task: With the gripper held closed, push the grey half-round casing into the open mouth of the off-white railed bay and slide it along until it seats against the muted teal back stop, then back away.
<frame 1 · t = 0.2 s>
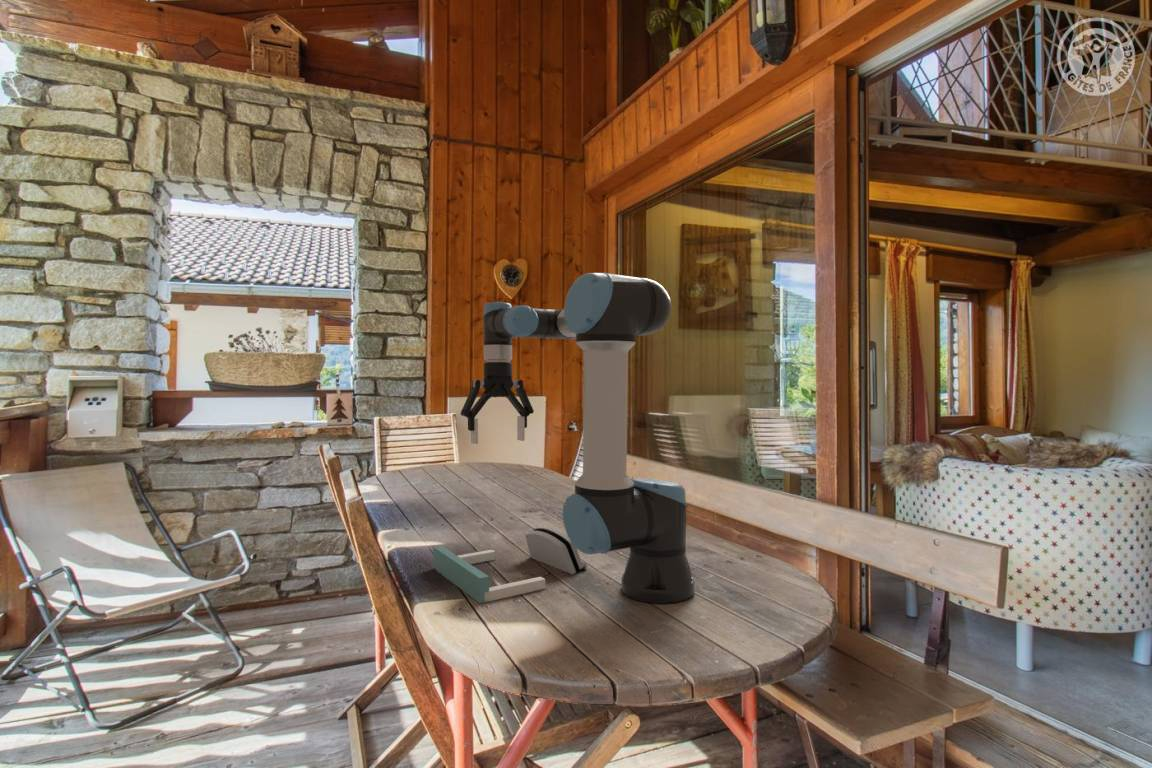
hand: (498, 442, 158), 28 cm above the table, tool pointing down, fingers open, 13 cm apart
guide bay: (488, 577, 133), on the table
grey half-round casing: (554, 566, 143), on the table
balloon: (630, 532, 172), on the table
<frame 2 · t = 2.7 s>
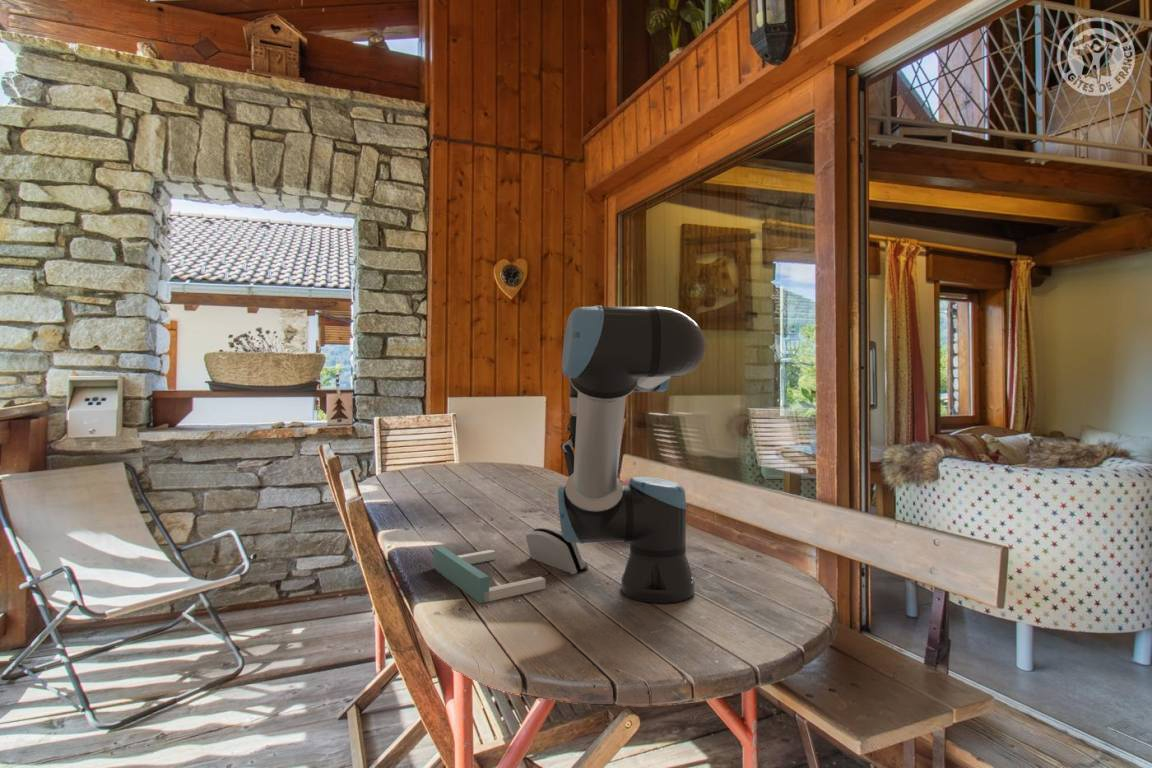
hand: (584, 509, 148), 12 cm above the table, tool pointing down, fingers closed
nothing on the table moved.
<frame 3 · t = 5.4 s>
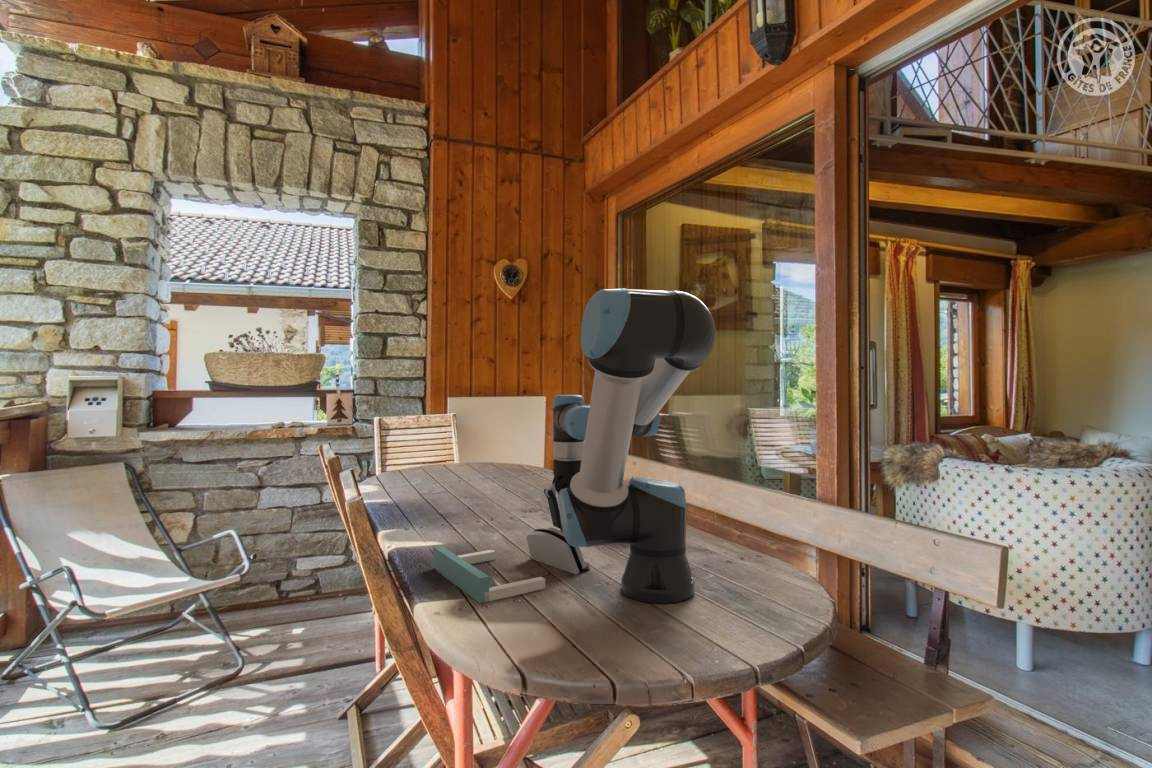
hand: (568, 555, 145), 1 cm above the table, tool pointing down, fingers closed
grey half-round casing: (555, 566, 142), on the table, touching gripper
everything else where it was.
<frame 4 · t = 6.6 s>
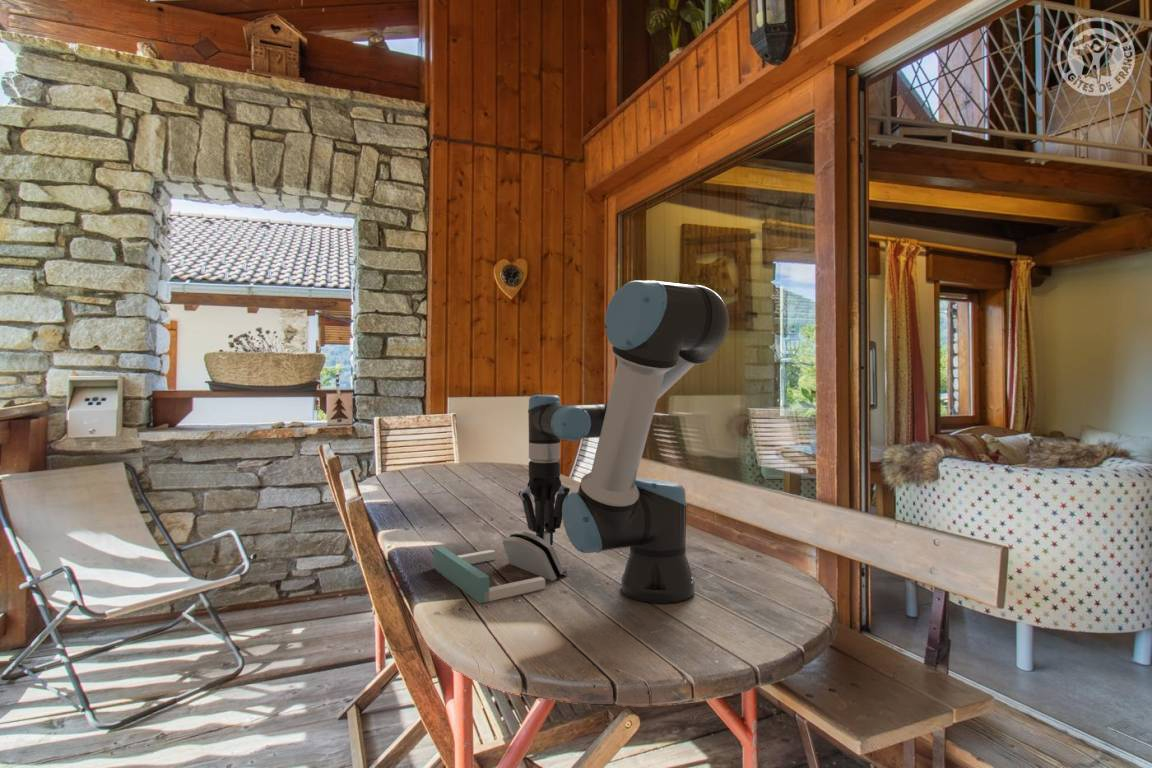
hand: (544, 559, 142), 2 cm above the table, tool pointing down, fingers closed
grey half-round casing: (533, 571, 138), on the table, touching gripper
everything else where it was.
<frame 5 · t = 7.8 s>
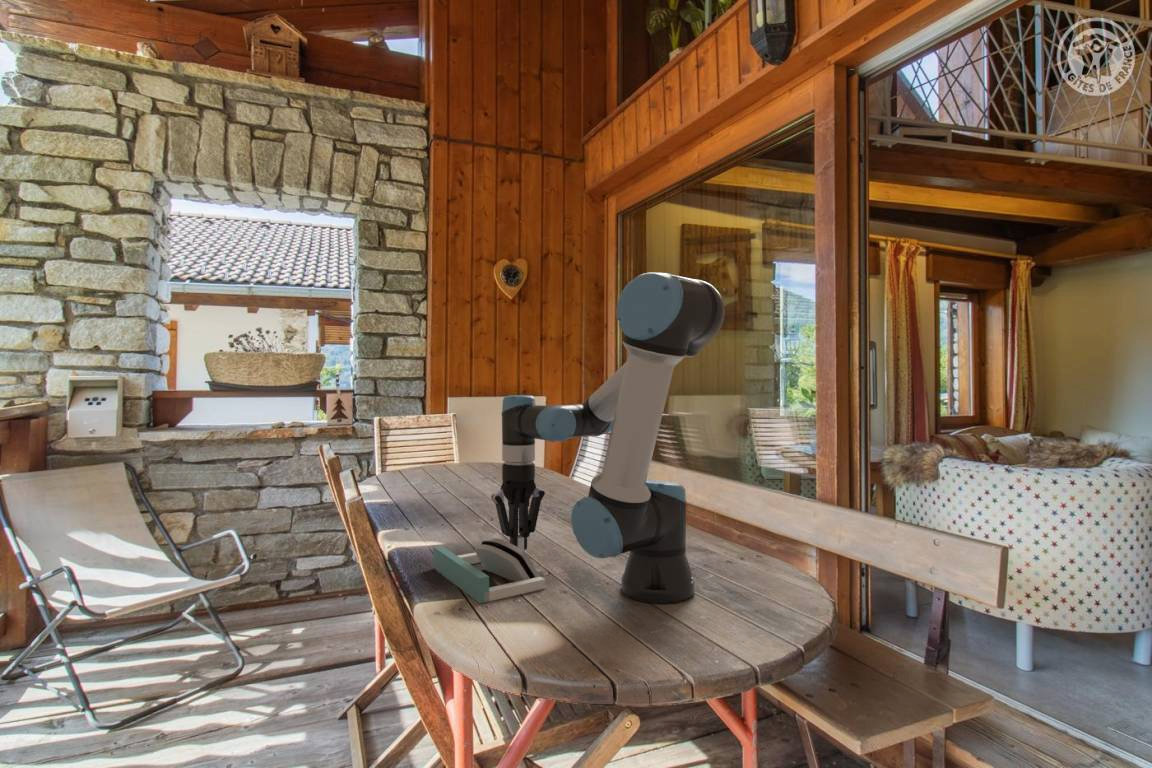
hand: (518, 564, 138), 2 cm above the table, tool pointing down, fingers closed
grey half-round casing: (509, 577, 134), on the table
everything else where it was.
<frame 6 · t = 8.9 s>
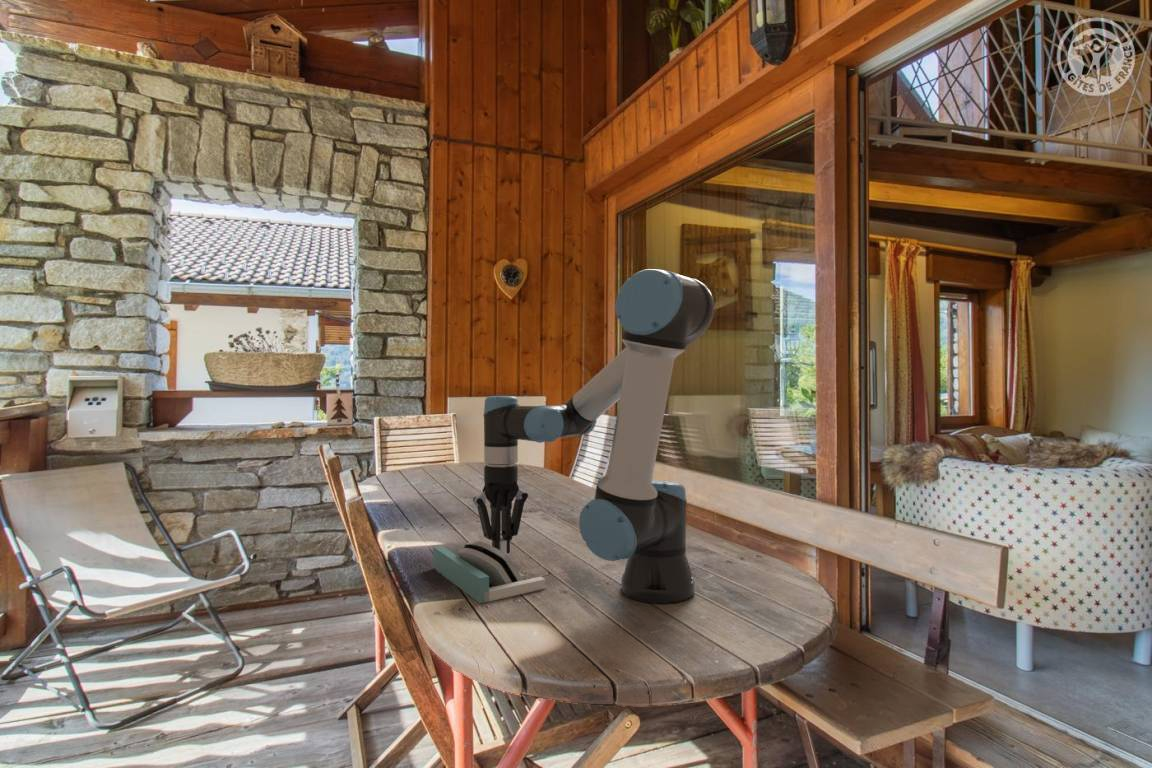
hand: (501, 568, 135), 1 cm above the table, tool pointing down, fingers closed
grey half-round casing: (492, 581, 131), on the table, touching gripper
everything else where it was.
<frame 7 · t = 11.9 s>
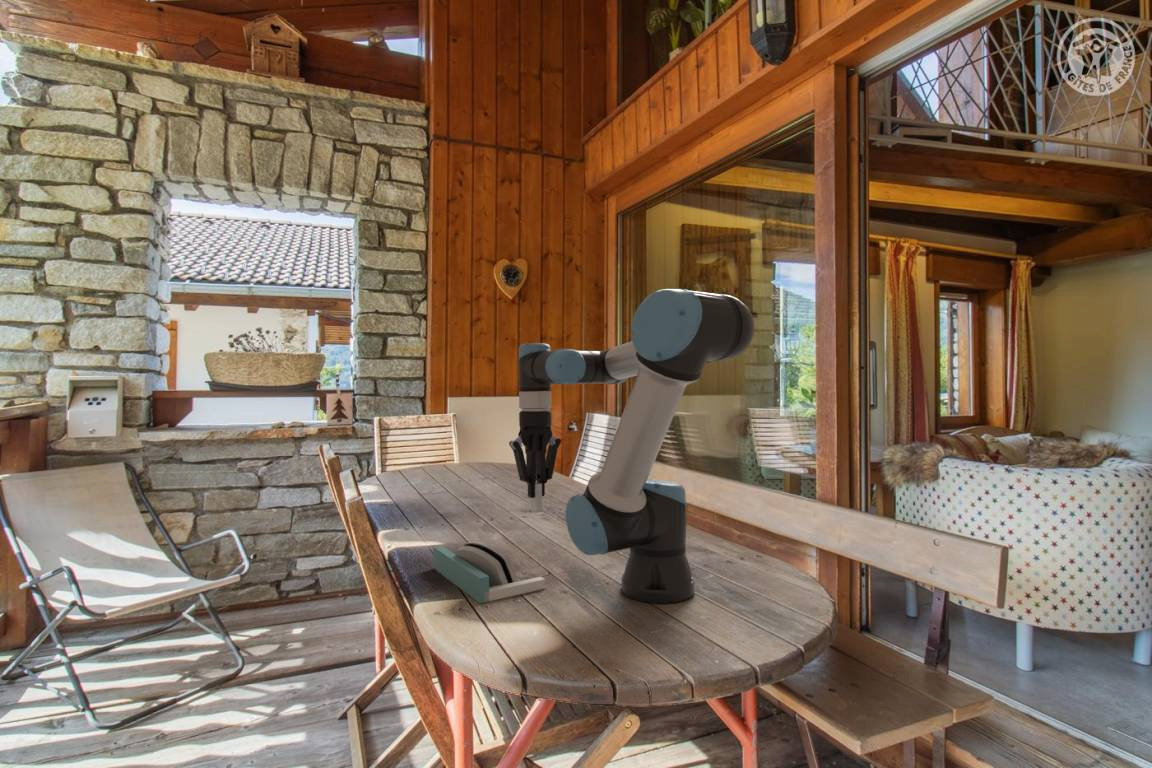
hand: (536, 511, 139), 13 cm above the table, tool pointing down, fingers closed
grey half-round casing: (487, 584, 130), on the table
everything else where it was.
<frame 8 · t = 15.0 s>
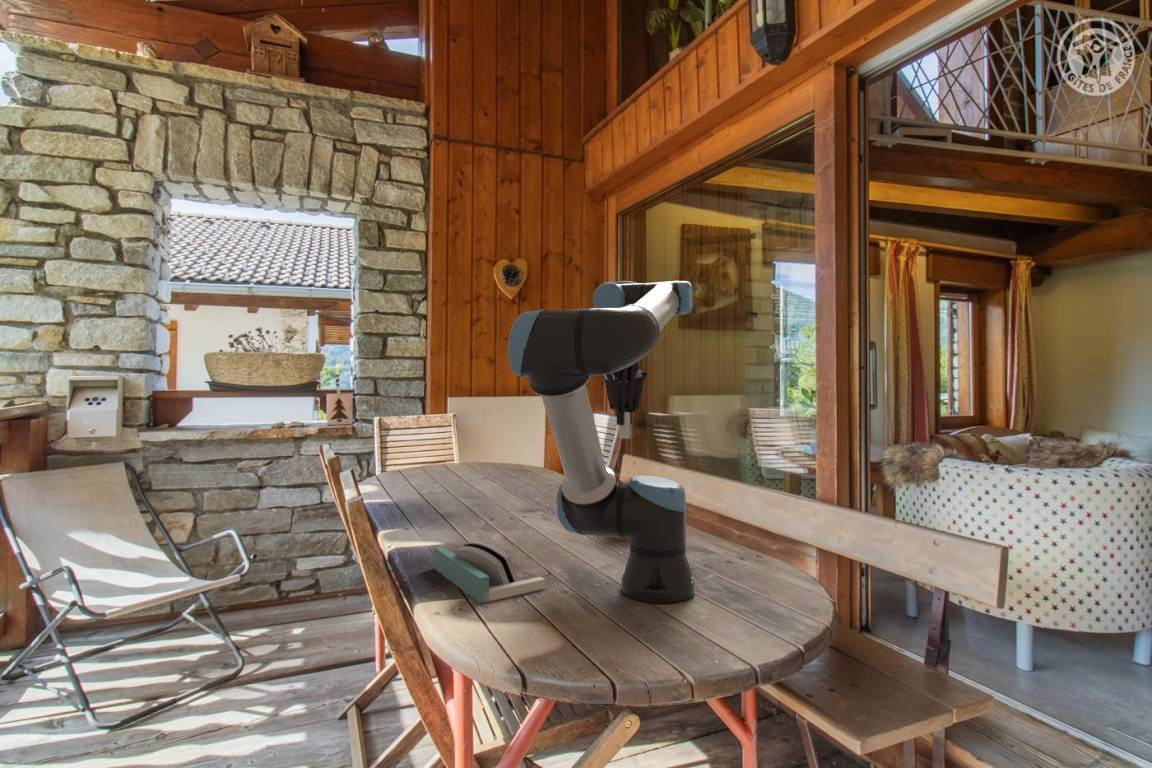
hand: (624, 437, 150), 29 cm above the table, tool pointing down, fingers closed
nothing on the table moved.
at the end: grey half-round casing inside the target area on the guide bay (2.9 cm from its centre), point 0.0 cm above the guide bay's base; grey half-round casing tilted 0°; the gripper is holding nothing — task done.
